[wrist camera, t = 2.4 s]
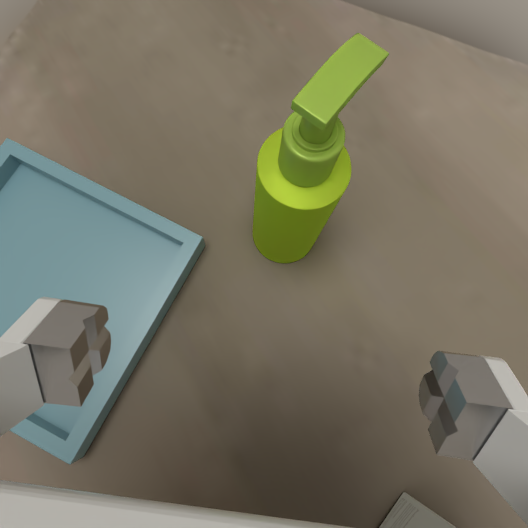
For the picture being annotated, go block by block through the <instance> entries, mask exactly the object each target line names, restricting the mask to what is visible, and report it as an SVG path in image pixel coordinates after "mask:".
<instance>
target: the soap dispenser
mask: <svg viewBox="0 0 528 528" xmlns="http://www.w3.org/2000/svg"><path fill="white" fill-rule="evenodd" d="M388 55H389V53H388V52H387V51H385V50H384V49H382V48H381V47H379V46H378V45H376V44H375V43H373V42H372V41H370V40H369V39H367V38H366V37H364V36H363V35H361V34H360V33H357V34H355V35H354V36H353V37H352V38H350V39H349V40H348V41H347V42H346V43H344V44H343V45H342V46H341V47H340V48H339V49H338V50H337V51H336V52H335V53H334V54H333V55H332V56H331V57H330V58H329V59H328V60H327V61H326V62H325V64H324V65H323V66H322V67H321V68H320V69H319V70H318V71H317V72H316V74H315V75H314V76H313V77H312V78H311V79H310V81H309V82H308V83H307V84H306V85H305V86H304V87H303V89H302V90H301V91H300V92H299V93H298V94H297V96H296V97H295V98H294V99H293V101H292V105H291V109H292V110H294V111H295V112H293V113H292V114H291V115H290V116H289V117H288V118H287V120H286V122H285V124H284V127H283V128H281V129H279V130H277V131H276V132H274V133H273V134H272V135H270V136H269V137H268V138H267V140H266V141H265V142H264V144H263V145H262V147H261V149H260V152H259V155H258V159H257V173H256V188H255V203H254V219H253V240H254V243H255V245H256V247H257V249H258V250H259V251H260V253H261V254H262V255H263V256H265V257H266V258H268V259H269V260H272V261H274V262H278V263H291V262H295V261H298V260H300V259H301V258H303V257H304V256H305V255H306V254H307V253H308V252H309V251H310V249H311V248H312V246H313V244H314V243H315V241H316V239H317V238H318V236H319V234H320V232H321V231H322V229H323V227H324V226H325V224H326V222H327V220H328V219H329V217H330V215H331V214H332V212H333V210H334V208H335V207H336V205H337V203H338V202H339V200H340V198H341V197H342V195H343V193H344V191H345V190H346V188H347V186H348V184H349V181H350V177H351V162H350V157H349V155H348V152H347V150H346V148H345V147H344V142H345V130H344V127H343V124H342V122H341V121H340V119H339V118H338V114H339V112H340V111H341V110H342V109H343V108H344V107H345V105H346V104H347V103H348V102H349V101H350V99H351V98H352V97H353V96H354V95H355V94H356V92H357V91H358V90H359V89H360V88H361V87H362V85H363V84H364V83H365V82H366V81H367V80H368V79H369V78H370V77H371V75H372V74H373V73H374V72H375V71H376V70H377V69H378V68H379V67H380V66H381V65H382V64H383V62H384V61H385V59H386V58H387V56H388Z"/></svg>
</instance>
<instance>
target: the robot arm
mask: <svg viewBox="0 0 528 528" xmlns="http://www.w3.org/2000/svg"><path fill="white" fill-rule="evenodd" d="M108 319H109V317H108V311H107V308H106V307H105V306H103V305H97V304H90V303H84V302H78V301H71V300H65V299H64V300H62V299H56V298H50V297H42V298H39V299H37V300H36V301H35V302H34V303H33V304H32V305H31V306H30V307H29V308H28V309H27V310H26V311H25V313H24V314H23V315H22V316H21V317H20V318H19V319H18V320H17V321H16V322H15V323H14V324H13V325H12V326H11V327H10V328H9V329H8V330H7V331H6V332H5V333H4V334H3V335H2V336H1V337H0V436H2V435H3V434H5V433H6V432H7V431H9V430H10V429H11V428H13V427H14V426H16V425H17V424H18V423H20V422H21V421H23V420H24V419H25V418H27V417H28V416H30V415H31V414H32V413H34V412H35V411H37V410H38V409H39V408H41V407H42V406H44V403H49V404H58V405H67V406H77V407H81V406H82V404H83V403H84V401H85V399H86V397H87V396H88V394H89V392H90V390H91V389H92V387H93V385H94V381H93V375H95V374H96V373H98V372H100V371H102V369H103V368H104V366H105V364H106V362H107V359H108V356H109V353H110V349H111V334H110V332H109V331H108V330H107V329H106V327H105V324H106V323H107V321H108ZM430 364H431V366H432V369H433V370H431V371H430V372H428V373H426V374H425V375H424V376H423V378H422V381H421V383H420V388H419V402H420V406H421V410H422V413H423V414H424V415H425V416H426V417H427V418H428V419H429V420H430V421H431V422H432V423H431V424H430V426H429V428H428V431H429V434H430V437H431V440H432V443H433V445H434V448H435V451H436V454H437V455H441V456H447V457H453V458H460V459H466V460H472V461H473V463H474V464H475V466H476V467H477V468H478V469H479V470H480V471H481V472H482V474H483V475H484V476H485V477H486V478H487V479H488V481H489V482H490V483H491V484H492V485H493V486H494V487H495V489H496V490H497V491H498V492H499V493H500V494H501V496H502V497H503V498H504V499H505V500H506V501H507V502H508V504H509V505H510V506H511V507H512V508H513V509H514V511H515V512H516V513H517V514H518V515H519V516H520V517H521V519H522V520H523V521H524V522H525V523H526V524H527V526H528V396H527V394H526V393H525V391H524V389H523V388H522V386H521V385H520V383H519V382H518V380H517V379H516V377H515V375H514V374H513V372H512V371H511V369H510V368H509V366H508V365H507V363H506V362H505V361H504V360H503V359H501V358H497V357H488V356H476V355H468V354H460V353H452V352H444V351H437V352H436V353H435V354H434V355H433V357H432V359H431V361H430ZM0 528H354V527H346V526H339V525H331V524H324V523H316V522H309V521H301V520H294V519H286V518H279V517H271V516H264V515H257V514H249V513H242V512H234V511H227V510H219V509H212V508H204V507H197V506H189V505H182V504H175V503H167V502H160V501H152V500H145V499H137V498H130V497H122V496H115V495H108V494H100V493H93V492H85V491H78V490H70V489H63V488H56V487H48V486H41V485H33V484H26V483H18V482H11V481H3V480H0Z"/></svg>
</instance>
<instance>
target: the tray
mask: <svg viewBox="0 0 528 528" xmlns="http://www.w3.org/2000/svg"><path fill="white" fill-rule="evenodd" d="M204 247H205V243H204V240H203V237H201V236H199V235H197V234H196V233H194V232H192V231H190V230H188V229H186V228H184V227H182V226H180V225H178V224H176V223H174V222H172V221H170V220H168V219H166V218H164V217H162V216H160V215H158V214H156V213H154V212H152V211H150V210H148V209H146V208H144V207H142V206H140V205H138V204H136V203H134V202H132V201H130V200H128V199H126V198H125V197H123V196H121V195H119V194H117V193H115V192H113V191H111V190H109V189H107V188H105V187H103V186H101V185H99V184H97V183H95V182H93V181H91V180H89V179H87V178H85V177H83V176H81V175H79V174H77V173H75V172H73V171H71V170H69V169H67V168H65V167H63V166H61V165H59V164H57V163H56V162H54V161H52V160H50V159H48V158H46V157H44V156H42V155H40V154H38V153H36V152H34V151H32V150H30V149H28V148H26V147H24V146H22V145H20V144H18V143H16V142H14V141H12V140H10V139H8V138H7V139H6V140H5V141H4V142H3V144H2V145H1V146H0V337H1V336H2V335H3V334H4V333H5V332H6V331H7V330H8V329H9V328H10V327H11V326H12V325H13V324H14V323H15V322H16V321H17V320H18V319H19V318H20V317H21V316H22V315H23V314H24V313H25V311H26V310H27V309H28V308H29V307H30V306H31V305H32V304H33V303H34V302H35V301H36V300H37V299H39V298H42V297H50V298H56V299H62V300H64V299H65V300H71V301H78V302H84V303H90V304H97V305H103V306H105V307H106V308H107V311H108V317H109V319H108V321H107V323H106V324H105V327H106V329H107V330H108V331H109V332H110V334H111V349H110V353H109V356H108V359H107V362H106V364H105V366H104V368H103V369H102V371H100V372H98V373H96V374H95V375H93V381H94V385H93V387H92V389H91V390H90V392H89V394H88V396H87V397H86V399H85V401H84V403H83V404H82V406H81V407H77V406H67V405H58V404H49V403H44V406H42V407H41V408H39V409H38V410H37V411H35V412H34V413H32V414H31V415H30V416H28V417H27V418H25V419H24V420H23V421H21V422H20V423H18V424H17V425H16V426H14V427H13V428H11V429H10V431H12V432H13V433H15V434H17V435H19V436H20V437H22V438H24V439H26V440H28V441H29V442H31V443H33V444H35V445H36V446H38V447H40V448H42V449H43V450H45V451H47V452H49V453H50V454H52V455H54V456H56V457H57V458H59V459H61V460H63V461H64V462H66V463H68V464H72V463H74V462H75V461H77V460H79V459H80V458H82V457H84V455H85V453H86V451H87V450H88V448H89V446H90V445H91V443H92V441H93V439H94V438H95V436H96V434H97V432H98V431H99V429H100V427H101V426H102V424H103V422H104V420H105V419H106V417H107V415H108V413H109V412H110V410H111V408H112V406H113V405H114V403H115V401H116V400H117V398H118V396H119V394H120V393H121V391H122V389H123V387H124V386H125V384H126V382H127V381H128V379H129V377H130V375H131V374H132V372H133V370H134V368H135V367H136V365H137V363H138V361H139V360H140V358H141V356H142V355H143V353H144V351H145V349H146V348H147V346H148V344H149V342H150V341H151V339H152V337H153V336H154V334H155V332H156V330H157V329H158V327H159V325H160V323H161V322H162V320H163V318H164V316H165V315H166V313H167V311H168V310H169V308H170V306H171V304H172V303H173V301H174V299H175V297H176V296H177V294H178V292H179V291H180V289H181V287H182V285H183V284H184V282H185V280H186V278H187V277H188V275H189V273H190V271H191V270H192V268H193V266H194V265H195V263H196V261H197V259H198V258H199V256H200V254H201V252H202V251H203V249H204Z"/></svg>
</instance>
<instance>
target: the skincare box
mask: <svg viewBox="0 0 528 528" xmlns="http://www.w3.org/2000/svg"><path fill="white" fill-rule="evenodd" d="M379 528H457V527H455V526H454V525H452V524H451V523H449V522H448V521H446V520H445V519H443V518H442V517H440V516H439V515H438V514H436V513H435V512H433V511H432V510H430V509H429V508H427V507H426V506H424V505H423V504H422V503H420V502H419V501H417V500H416V499H414V498H413V497H411V496H410V495H408V494H407V493H405V492H403V494H402V495H401V496H400V498H399V499H398V501H397V502H396V504H395V505H394V507H393V508H392V510H391V511H390V513H389V514H388V515H387V517H386V518H385V520H384V521H383V523H382V524H381V526H380V527H379Z"/></svg>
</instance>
